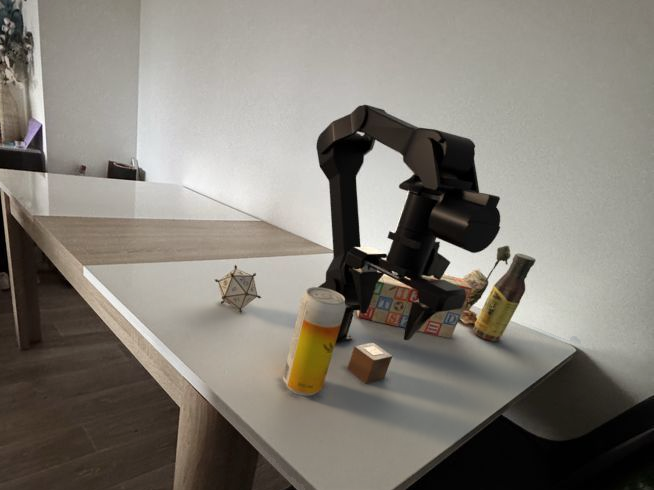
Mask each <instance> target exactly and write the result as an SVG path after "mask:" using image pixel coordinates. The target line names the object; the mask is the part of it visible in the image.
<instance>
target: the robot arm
mask: <svg viewBox="0 0 654 490" xmlns="http://www.w3.org/2000/svg"><path fill="white" fill-rule="evenodd" d="M360 133H361V134H363V135H361V134H360ZM376 142H379V143H380V144H382V145H384V146H386V147H387V148H389V149H391V150H392V151H394V152H396V153H398V154H399V155H400V156H401V157H402V161H403V164H404V165H405V166H406V167H407V168H408V170H409V171H410V172H411V173H412V175H411V176H410V177H409V178H407V179H406V180H404V181H402V182H400V183H399V184H398V189H400V190H402V191H405V192H407V193H406V196H405V200H404V203H403V206H402V209H401V213H400V216H399V219H398V221H397V223H396V224H397V225H396V228H395V230H389V231H388V235H387V239H389V240H391V243H390V246H389V249H388V252H387V253H385V252H384V251H381V250H379V249H377V248H374V247H373V246H362V245H361V243H362V242H361V231H360V230H361V228H360V227H361V226H360V215H359V211H360V210H359V196H358V183H357V180H358V179H357V176H358V174H359V173H360V171H361V168H362V167H363V165H364V163H365V156H366V155H368V154H369V153H370V152H372V151H373V149H374V147H375V143H376ZM475 149H476V144H475V142H474V141H473V140H472V139H470V138H468V137H464V136H461V135H457V134H453V133H449V132H446V131H442V130H438V129H434V128H425V127H418V126H416V125H414V124H412V123H409V122H407V121H406V120H404V119H401V118H398V117H396V116H394V115H392V114H390V113H388V112H387V111H386V109H383V108H381V107H380V108H379V107H375V106H373V105H368V104H363V105H358V106H357V107H356V108H354V110H353V111H351V112H350V113H348V114H345V115H344V116H342V117H340V118H337V119H335V120H333V121H331V122H330V123H329V124H328V125H327V127H325V129H323V131H322V132H320V134H319V135H318V137H317V140H316V153H317V159H318V165H319V169H320V170H321V171H322V173H323V174H324V176H325V178H326V179H327V181H328V186H329V204H330V220H331V237H332V250H333V251H332V252H333V253H332V254H333V256H332V260H331V262H330V264H329V266H328V268H327V269H326V272H325V281H324V282H323V283H322V284H320V285H319V286H318V287H321V288H326V289H330V290H333V291H336V292H338V293H340V294H341V295H342V296H343V297H344V298H345V306H346V309H345V313H344V316H343V319H342V323H341V326H340V330H339V333H338V336H337V340H336V343H341V342H342V343H343V342H347V341H348V342H349V341H352V339H353V337H352V335H351V334H349V331H350V328H351V324H352V321H353V318H354V312H355V311H356V310H359V311H360V312H361V313H362V314H364V313H366V312H367V310H368V308H369V306H370V303H371V300H372V297H373V294H374V290H375V287H376V284H377V282H378V281H379V280H380V278H381V277H382V276H383V275H387V276H389V277H391V278H393V279H395V280H397V281H399V282H401V283H403V284H405V285H407V286H409V287H411V288H413V289H415V290H417V291H418V293H417V296H418V299H419V301H413V302H412V306H411V309H410V313H409V317H408V320H407V324H406V327H405V328H404V331H403V341H409V340H411V339H412V338H413V336H414V335H415V334H416V333H417V332H419V331H418V330H419V329H420V328H421V326H422V325H423V324H424V323H425V322H426V321H427V320H428V319H429V318H430V317H432V316H433V315H434V314H435V313H437V312H443V311H449V310H455V309H461V308H462V306H463V304H464V302H465V300H466V294H465V289H464V288H461V287H459V286H457V285H455V284H453V283H450V282H448V281H446V280H440V279H441V277H442V276H443V274H446V273H445V272H446V271H447V269H448V268H449V266H450V264H451V261H450V260H449V259H447V258H446V257H445V256H444V255H442V254H440V253H439V250H440V246H441V241H443V242H446V243H448V244H450V245H452V246H455V247H458V248H459V249H462V250H464V251H467V252H469V253H471V254H478V253H480V252H482V251H484V250H486V249H487V248H488V247H489V246H490V245H491V244H492V243H494V240H495V239H496V238H497V236H498V234H499V232H500V230H501V226H500V224H501V212H500V210H499V208H498V204H499V202H500V200H501V197H500V196H498V195H495V194H490V193H484V192H480V188H479V187H480V186H479V181H478V174H477V169H476V168H477V167H476V161H475V155H476V150H475ZM437 239H438V240H437ZM439 240H440V241H439ZM423 275H425V276H427V277H428V276H434V278H436V279H438V280H433V281H428V280H426V279H424V278H422V276H423ZM406 277H407V278H410V279H411V280H409V279H407V278H406ZM336 343H335V344H336Z"/></svg>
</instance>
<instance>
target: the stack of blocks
mask: <svg viewBox="0 0 654 490" xmlns="http://www.w3.org/2000/svg"><path fill="white" fill-rule="evenodd" d="M405 278H407V277H405ZM422 278H424V279H426V280H428V281H433V280H438V279H436V278H434V276H428V277H427V276H425V275H423V276H422ZM407 279H409V280H411V279H410V278H407ZM440 280H446V281H448V282H450V283H453V284H455V285H457V286H459V287H461V288H464V289H465V294H466V300H465V302H464V304H463V306H462V308H461V309H455V310H449V311H443V312H437V313H435V314H434V315H433V316H432V317H430V318H429V319H428V320H427V321H426V322H425V323H424V324H423V325H422V326H421V328H420V329H419V330H418V331H417V332H422V333H426V334H430V335H433V336H434V335H435V336H438V337H443V338H448V339H451V338H452V337H453V334H454V332H455V330H456V327H457V325H458V322H459V321H460V320H461V319H460V316H461V314H462V313H463V311H464V308H465V306H466V304H467V300H468V298H469V296H470V294H471V291H472V289H473V288H472V287H471V286H470V285H469V284H468V283H467V282H466V281H465V280H463V278H460V277H456V276H451V275H450V274H446V273H444V274H443V276H442V277H441V279H440ZM417 293H418V291H417V290H415V289H413V288H411V287H409V286H407V285H405V284H403V283H401V282H399V281H397V280H395V279H393V278H391V277H389V276H387V275H385V274H384V275H383V276H382V277H381V278H380V280H379V281H378V282H377V284H376V287H375V290H374V294H373V297H372V300H371V303H370V306H369V308H368V310H367V312H366V313H364V314H362V313H361V312H360V311H359V310H355V311H356V315H357V318H360V319H365V320H369V321H372V322H377V323H381V324H386V325H390V326H395V327H400V328H404V329H405V327H406V324H407V320H408V317H409V313H410V309H411V306H412V302H413V301H419V299H418V296H417Z"/></svg>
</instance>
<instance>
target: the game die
mask: <svg viewBox="0 0 654 490" xmlns="http://www.w3.org/2000/svg"><path fill="white" fill-rule="evenodd" d="M233 268H234V269H233V270H232V271H230V272H229V273H228V274H226V275H225V276H223V277H221V278H220V279H217V278H216V279H215V278H214V282H216V283H218V287H219V291H220V294H221V299H222V300H221V301H220V305H223V304H228V305H230V306H232V307H234V308H235V309H238V312H239V313H240V314H242V312H243V308H244V307H246V306H248V304H250V303H251V302H252V301H254V300H255V299H257V298H258V299H262V297H261V295H258V291H257V287H256V281H255V277H256V276H257V273H256V272H254V273H253V274H250V273H248V272H245V271H243V270H240V269H238V266H237V265H236V264H234V266H233Z"/></svg>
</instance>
